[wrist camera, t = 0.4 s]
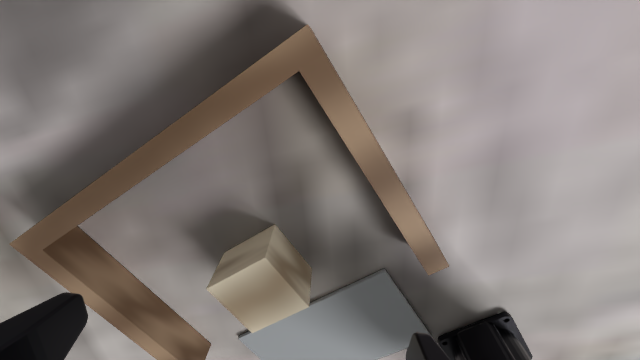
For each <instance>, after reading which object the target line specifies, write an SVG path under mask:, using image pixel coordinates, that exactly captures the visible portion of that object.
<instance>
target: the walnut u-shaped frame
mask: <svg viewBox="0 0 640 360" xmlns="http://www.w3.org/2000/svg"><path fill="white" fill-rule="evenodd" d="M298 71H300V73H301V75H302V76H303V78H304V79H305V81H306V83H307V84H308V86H309V87H310V89H311V90H312V92H313V94H314V95H315V97H316V98H317V100H318V102H319V103H320V105H321V106H322V108H323V109H324V111H325V113H326V114H327V116H328V117H329V119H330V121H331V122H332V124H333V125H334V127H335V128H336V130H337V132H338V133H339V135H340V136H341V138H342V140H343V141H344V143H345V144H346V146H347V147H348V149H349V151H350V152H351V154H352V155H353V157H354V159H355V160H356V162H357V163H358V165H359V166H360V168H361V170H362V171H363V173H364V174H365V176H366V177H367V179H368V181H369V182H370V184H371V185H372V187H373V189H374V190H375V192H376V193H377V195H378V196H379V198H380V200H381V201H382V203H383V204H384V206H385V208H386V209H387V211H388V212H389V214H390V215H391V217H392V219H393V220H394V222H395V223H396V225H397V227H398V228H399V230H400V231H401V233H402V234H403V236H404V238H405V239H406V241H407V242H408V244H409V246H410V247H411V249H412V250H413V252H414V253H415V255H416V257H417V258H418V260H419V261H420V263H421V265H422V266H423V268H424V269H425V271H426V272H427V274H428V276H429V275H431V274H433V273H435V272H438V271H440V270H442V269H445V268H447V267H449V265H448V263H447V261H446V259H445V258H444V256H443V254H442V252H441V250H440V248H439V247H438V245H437V243H436V241H435V239H434V238H433V236H432V234H431V233H430V231H429V229H428V227H427V226H426V224H425V222H424V221H423V219H422V217H421V215H420V214H419V212H418V210H417V209H416V207H415V205H414V203H413V202H412V200H411V198H410V197H409V195H408V193H407V192H406V190H405V188H404V186H403V185H402V183H401V181H400V180H399V178H398V176H397V174H396V173H395V171H394V169H393V168H392V166H391V164H390V162H389V161H388V159H387V157H386V156H385V154H384V152H383V151H382V149H381V147H380V145H379V144H378V142H377V140H376V139H375V137H374V135H373V133H372V132H371V130H370V128H369V127H368V125H367V123H366V121H365V120H364V118H363V116H362V115H361V113H360V111H359V110H358V108H357V106H356V104H355V103H354V101H353V99H352V98H351V96H350V94H349V92H348V91H347V89H346V87H345V86H344V84H343V82H342V80H341V79H340V77H339V75H338V74H337V72H336V70H335V68H334V67H333V65H332V63H331V62H330V60H329V58H328V57H327V55H326V53H325V51H324V50H323V48H322V46H321V45H320V43H319V41H318V39H317V38H316V36H315V34H314V33H313V31H312V29H311V28H310V27H309V26H308V24H307V25H306V26H304V27H303V28H302V29H300V30H299V31H298V32H296V33H295V34H294V35H292V36H291V37H290V38H288V39H287V40H285V41H284V42H283V43H281V44H280V45H279V46H277V47H276V48H275V49H273V50H272V51H271V52H269V53H268V54H266V55H265V56H264V57H262V58H261V59H260V60H258V61H257V62H256V63H254V64H253V65H252V66H250V67H249V68H247V69H246V70H245V71H243V72H242V73H241V74H239V75H238V76H237V77H235V78H234V79H233V80H231V81H230V82H228V83H227V84H226V85H224V86H223V87H222V88H220V89H219V90H218V91H216V92H215V93H214V94H212V95H211V96H209V97H208V98H207V99H205V100H204V101H203V102H201V103H200V104H199V105H197V106H196V107H195V108H193V109H192V110H190V111H189V112H188V113H186V114H185V115H184V116H182V117H181V118H180V119H178V120H177V121H176V122H174V123H173V124H171V125H170V126H169V127H167V128H166V129H165V130H163V131H162V132H161V133H159V134H158V135H157V136H155V137H154V138H152V139H151V140H150V141H148V142H147V143H146V144H144V145H143V146H142V147H140V148H139V149H138V150H136V151H135V152H133V153H132V154H131V155H129V156H128V157H127V158H125V159H124V160H123V161H121V162H120V163H119V164H117V165H116V166H114V167H113V168H112V169H110V170H109V171H108V172H106V173H105V174H104V175H102V176H101V177H100V178H98V179H97V180H95V181H94V182H93V183H91V184H90V185H89V186H87V187H86V188H85V189H83V190H82V191H81V192H79V193H78V194H76V195H75V196H74V197H72V198H71V199H70V200H68V201H67V202H66V203H64V204H63V205H62V206H60V207H59V208H57V209H56V210H55V211H53V212H52V213H51V214H49V215H48V216H47V217H45V218H44V219H43V220H41V221H40V222H38V223H37V224H36V225H34V226H33V227H32V228H30V229H29V230H28V231H26V232H25V233H24V234H22V235H21V236H19V237H18V238H17V239H15V240H14V241H13V242H11V243H10V245H11V246H12V247H13V248H15V249H16V250H17V251H18V252H20V253H21V254H22V255H24V256H25V257H26V258H27V259H29V260H30V261H31V262H33V263H34V264H35V265H36V266H38V267H39V268H40V269H42V270H43V271H44V272H45V273H47V274H48V275H49V276H50V277H52V278H53V279H54V280H56V281H57V282H58V283H59V284H61V285H62V286H63V287H65V288H66V289H67V290H68V291H70V292H71V293H77V294H81V295H82V296H83V299H84V303H85V304H86V305H88V306H89V307H90V308H91V309H93V310H94V311H95V312H97V313H98V314H99V315H100V316H102V317H103V318H104V319H105V320H107V321H108V322H109V323H111V324H112V325H113V326H114V327H116V328H117V329H118V330H120V331H121V332H122V333H123V334H125V335H126V336H127V337H129V338H130V339H131V340H132V341H134V342H135V343H136V344H137V345H139V346H140V347H141V348H143V349H144V350H145V351H146V352H148V353H149V354H150V355H152V356H153V357H154V358H155V359H157V360H205V359H206V356H207V353H208V351H209V348H210V346H211V343H209V342H208V341H207V340H206V339H205V338H204V337H203V336H201V335H200V334H199V333H198V332H197V331H196V330H195V329H194V328H192V327H191V326H190V325H189V324H188V323H187V322H186V321H184V320H183V319H182V318H181V317H180V316H179V315H178V314H177V313H175V312H174V311H173V310H172V309H171V308H170V307H169V306H167V305H166V304H165V303H164V302H163V301H162V300H161V299H159V298H158V297H157V296H156V295H155V294H154V293H153V292H152V291H150V290H149V289H148V288H147V287H146V286H145V285H144V284H142V283H141V282H140V281H139V280H138V279H137V278H136V277H134V276H133V275H132V274H131V273H130V272H129V271H128V270H127V269H125V268H124V267H123V266H122V265H121V264H120V263H119V262H117V261H116V260H115V259H114V258H113V257H112V256H111V255H109V254H108V253H107V252H106V251H105V250H104V249H103V248H102V247H100V246H99V245H98V244H97V243H96V242H95V241H94V240H92V239H91V238H90V237H89V236H88V235H87V234H86V233H84V232H83V231H82V230H81V229H80V228H79V227H78V226H77V225H79V224H80V223H82V222H83V221H85V220H86V219H87V218H89V217H90V216H92V215H93V214H95V213H96V212H97V211H99V210H100V209H102V208H103V207H105V206H106V205H108V204H109V203H110V202H112V201H113V200H115V199H116V198H118V197H119V196H120V195H122V194H123V193H125V192H126V191H128V190H129V189H130V188H132V187H133V186H135V185H136V184H138V183H139V182H141V181H142V180H143V179H145V178H146V177H148V176H149V175H151V174H152V173H153V172H155V171H156V170H158V169H159V168H161V167H162V166H163V165H165V164H166V163H168V162H169V161H171V160H172V159H174V158H175V157H176V156H178V155H179V154H181V153H182V152H184V151H185V150H186V149H188V148H189V147H191V146H192V145H194V144H195V143H197V142H198V141H199V140H201V139H202V138H204V137H205V136H207V135H208V134H209V133H211V132H212V131H214V130H215V129H217V128H218V127H219V126H221V125H222V124H224V123H225V122H227V121H228V120H230V119H231V118H232V117H234V116H235V115H237V114H238V113H240V112H241V111H242V110H244V109H245V108H247V107H248V106H250V105H251V104H252V103H254V102H255V101H257V100H258V99H260V98H261V97H263V96H264V95H265V94H267V93H268V92H270V91H271V90H273V89H274V88H275V87H277V86H278V85H280V84H281V83H283V82H284V81H285V80H287V79H288V78H290V77H291V76H293V75H294V74H296V73H297V72H298Z"/></svg>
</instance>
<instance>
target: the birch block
mask: <svg viewBox="0 0 640 360" xmlns="http://www.w3.org/2000/svg"><path fill="white" fill-rule="evenodd" d="M311 274H312V268H311V267H310V266H309V265H308V263H307V262H306V261H305V260H304V259H303V257H302V256H301V255H300V254H299V252H298V251H297V250H296V249H295V248H294V246H293V245H292V244H291V243H290V242H289V240H288V239H287V238H286V237H285V236H284V234H283V233H282V232H281V231H280V230H279V228H278V227H277V226H276V225H275V224H274V225H273V226H271V227H269V228H267V229H265V230H264V231H262V232H260V233H258V234H257V235H255V236H253V237H251V238H249V239H248V240H246V241H244V242H242V243H241V244H239V245H237V246H235V247H233V248H232V249H230V250H228V251H226V252H225V253H224V254H223V256H222V258H221V260H220V262H219V264H218V266H217V268H216V270H215V272H214V274H213V276H212V278H211V280H210V282H209V284H208V286H207V288H206V289H207V290H208V291H209V292H210V293H211V294H212V295H213V296H214V297H215V298H216V299H217V300H218V301H219V302H220V303H221V304H222V305H223V306H224V307H225V308H226V309H227V310H229V311H230V312H231V313H232V314H233V315H234V316H235V317H236V318H237V319H238V320H239V321H240V322H241V323H242V324H243V325H244V326H245V327H246V328H247V329H248V330H249V331H250V332H251V333H254V332H256V331H258V330H261V329H263V328H265V327H267V326H269V325H271V324H274V323H276V322H278V321H280V320H282V319H284V318H287V317H289V316H291V315H293V314H295V313H297V312H299V311H302V310H304V309H306V308H308V307H309V302H310V288H311Z"/></svg>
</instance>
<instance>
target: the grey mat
mask: <svg viewBox="0 0 640 360" xmlns="http://www.w3.org/2000/svg"><path fill="white" fill-rule="evenodd" d="M415 332H418V333H427V334H429V335H430V336H431V334H430V333H429V331H428V330H427V328H426V327H425V326H424V324H423V323H422V321H421V320H420V318H419V317H418V316H417V314H416V313H415V311H414V310H413V308H412V307H411V306H410V304H409V303H408V301H407V300H406V298H405V297H404V296H403V294H402V293H401V291H400V290H399V288H398V287H397V286H396V284H395V283H394V281H393V280H392V278H391V277H390V276H389V274H388V273H387V271H386V270H385V269H382V270H380V271H378V272H376V273H374V274H372V275H369V276H367V277H365V278H363V279H361V280H359V281H356V282H354V283H352V284H350V285H348V286H346V287H344V288H341V289H339V290H337V291H335V292H333V293H331V294H328V295H326V296H324V297H322V298H320V299H318V300H315V301H313V302H311V303H309V307H308V308H306V309H304V310H302V311H299V312H297V313H295V314H293V315H291V316H289V317H287V318H284V319H282V320H280V321H278V322H276V323H274V324H271V325H269V326H267V327H265V328H263V329H261V330H258V331H256V332H254V333H251V332H250V331H248V332H246V333H244V334H242V335H240V336H239V338H238V339H239V340H240V341H241V342H242V343H244V344H245V345H246V346H247V347H248V348H249V349H250V350H251V351H252V352H253V353H254V354H255V355H256V356H257V357H259V358H260V359H261V360H377V359H380V358H383V357H385V356H388V355H390V354H393V353H396V352H398V351H401V350H403V349H406V348H408V346H409V343H410V340H411V337H412V335H413V333H415ZM431 337H432V336H431Z"/></svg>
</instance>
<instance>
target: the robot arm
mask: <svg viewBox="0 0 640 360" xmlns="http://www.w3.org/2000/svg"><path fill="white" fill-rule="evenodd" d="M87 319H88V314H87V310H86V306H85V303H84V299H83V296H82V295H81V294H77V293H67V292H66V293H61V294H59V295H57V296H55V297H53V298H51V299H49V300H47V301H45V302H43V303H41V304H39V305H37V306H35V307H33V308H31V309H28V310H26V311H24V312H22V313H20V314H18V315H16V316H14V317H12V318H10V319H8V320H6V321H4V322H2V323H0V360H64V359H65V357H66V356H67V354H68V352H69V351H70V349H71V348H72V346H73V344H74V343H75V341H76V340H77V338H78V336H79V335H80V333H81V332H82V330H83V328H84V327H85V325H86V323H87ZM438 342H439V345H440V346H439V345H438V344H437V343H436V341H435V340H434V339H433V338H432V337H431V336H430V335H429V334H427V333H418V332H415V333H413V335H412V337H411V340H410V343H409V346H408V349H407V352H406V360H531V359H532V354H531V352H530V351H529V349H528V347H527V345H526V343H525V341H524V339H523V337H522V335H521V333H520V332H519V330H518V328H517V326H516V324H515V322H514V320H513V318H512V317H511V315H510V314H509V313H507V312H503V313H500V314H498V315H495V316H492V317H490V318H487V319H485V320H482V321H479V322H477V323H474V324H471V325H469V326H466V327H464V328H461V329H458V330H456V331H453V332H450V333H448V334H445V335H443V336H440V337H439V338H438ZM440 347H441V348H442V349H441V348H440Z"/></svg>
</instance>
